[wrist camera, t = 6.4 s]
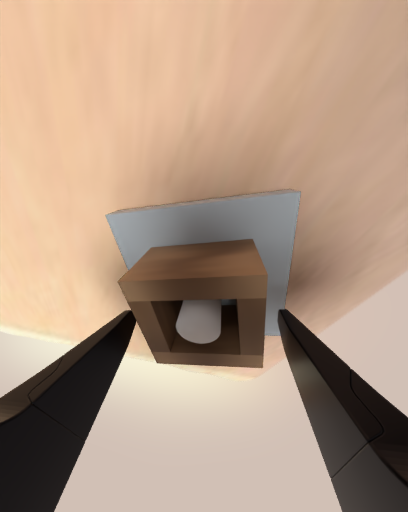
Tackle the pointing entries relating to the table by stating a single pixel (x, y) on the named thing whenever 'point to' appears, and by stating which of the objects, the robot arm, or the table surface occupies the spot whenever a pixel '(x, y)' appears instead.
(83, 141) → the table surface
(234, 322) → the collar
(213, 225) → the peg base
